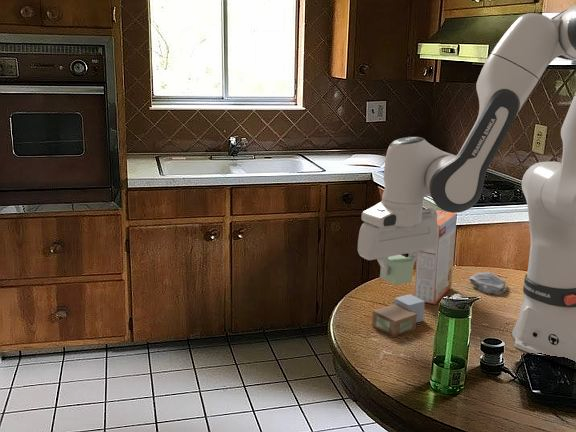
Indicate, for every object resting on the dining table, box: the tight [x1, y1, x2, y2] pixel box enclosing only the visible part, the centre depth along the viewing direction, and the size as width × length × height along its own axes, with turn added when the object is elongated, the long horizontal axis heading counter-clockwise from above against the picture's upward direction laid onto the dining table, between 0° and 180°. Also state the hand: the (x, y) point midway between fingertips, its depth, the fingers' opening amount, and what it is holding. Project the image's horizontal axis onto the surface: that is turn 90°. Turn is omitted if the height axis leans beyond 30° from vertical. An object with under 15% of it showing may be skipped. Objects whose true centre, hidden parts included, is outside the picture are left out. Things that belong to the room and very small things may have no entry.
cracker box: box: [413, 210, 458, 305], centre depth 167 cm, size 14×6×21 cm, turn 149°
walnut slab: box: [371, 303, 417, 337], centre depth 149 cm, size 7×7×4 cm
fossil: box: [468, 271, 508, 295], centre depth 175 cm, size 11×4×10 cm
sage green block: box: [379, 254, 415, 286], centre depth 144 cm, size 5×5×5 cm
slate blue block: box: [393, 293, 426, 323], centre depth 154 cm, size 5×5×5 cm
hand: (396, 272), depth 145 cm, fingers closed on sage green block, 5 cm apart
